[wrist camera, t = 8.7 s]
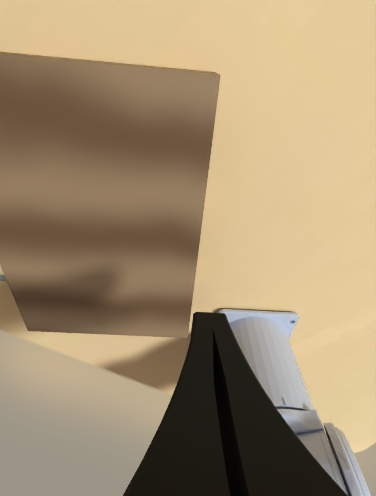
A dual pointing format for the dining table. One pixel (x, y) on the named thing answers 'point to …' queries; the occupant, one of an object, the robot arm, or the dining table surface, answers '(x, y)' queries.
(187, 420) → the robot arm
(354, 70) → the dining table surface
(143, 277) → the walnut board
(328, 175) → the dining table surface
